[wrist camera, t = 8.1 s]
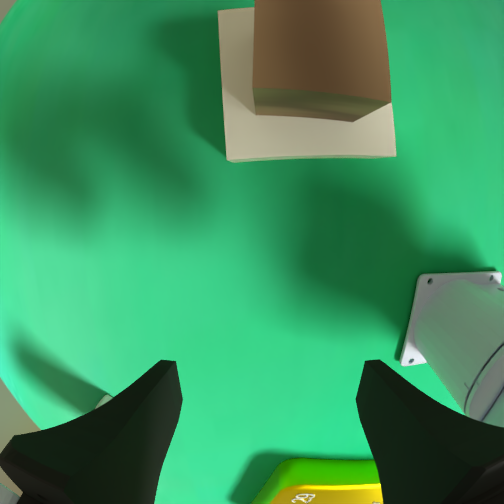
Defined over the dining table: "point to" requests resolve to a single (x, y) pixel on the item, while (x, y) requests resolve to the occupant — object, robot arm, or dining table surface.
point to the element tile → (322, 483)
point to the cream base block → (285, 127)
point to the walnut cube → (320, 59)
